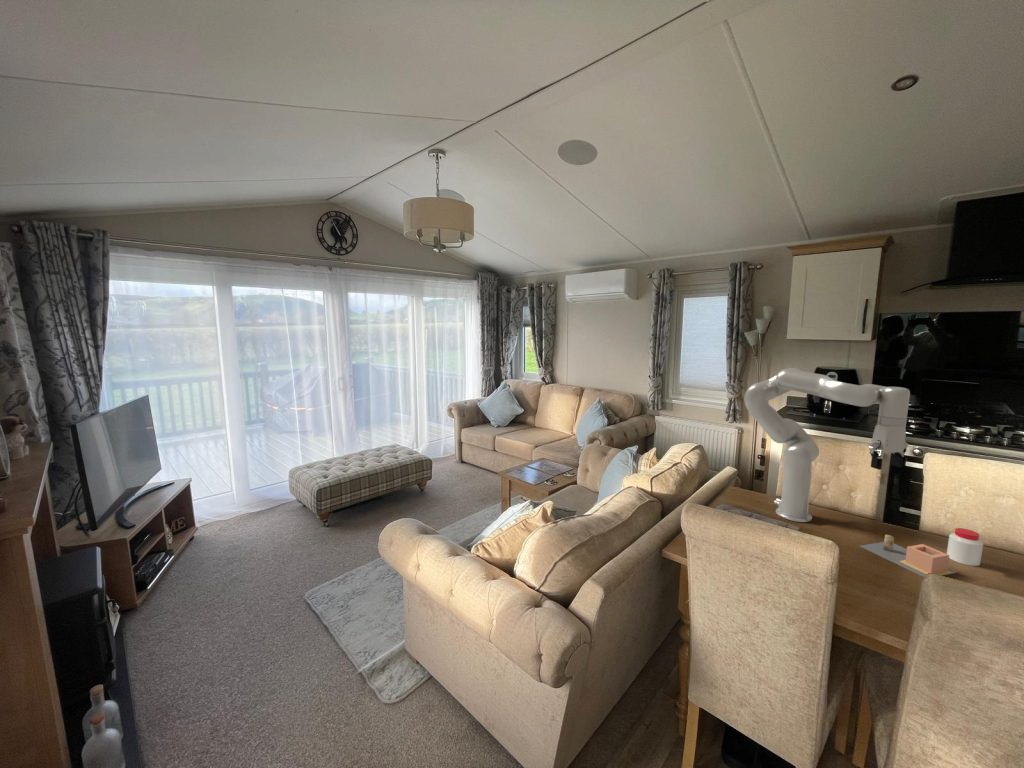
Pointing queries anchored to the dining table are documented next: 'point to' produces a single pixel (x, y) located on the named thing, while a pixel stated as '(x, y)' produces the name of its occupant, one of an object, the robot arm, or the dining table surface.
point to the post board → (898, 555)
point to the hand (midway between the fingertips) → (886, 467)
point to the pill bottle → (965, 547)
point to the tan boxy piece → (927, 559)
